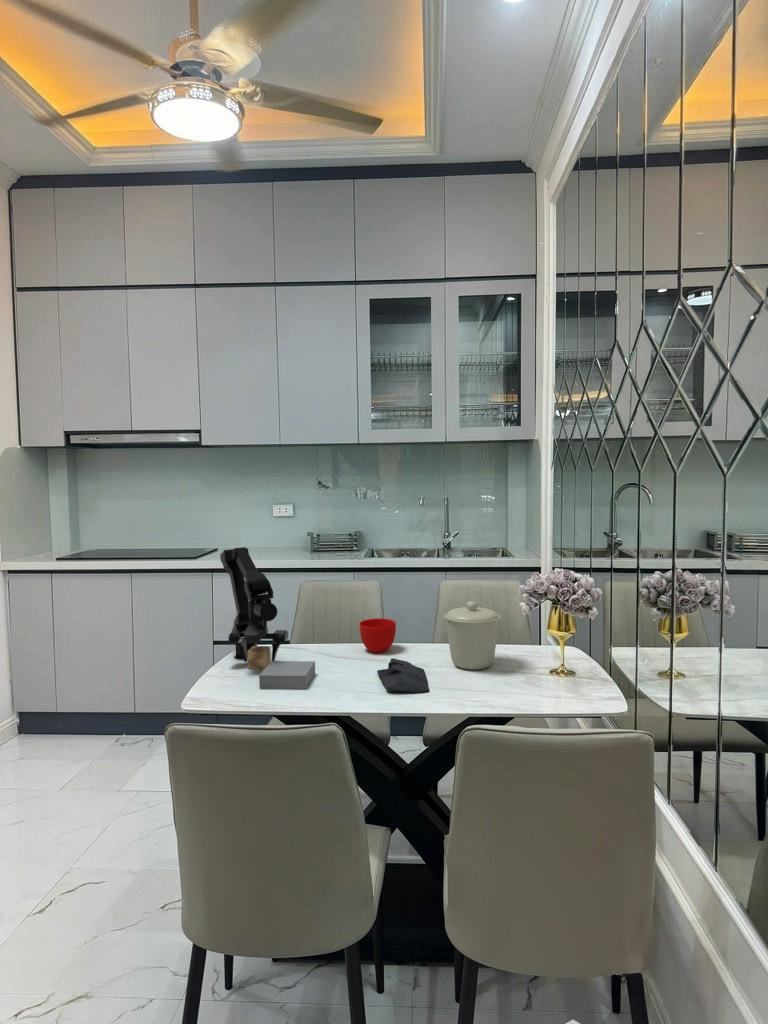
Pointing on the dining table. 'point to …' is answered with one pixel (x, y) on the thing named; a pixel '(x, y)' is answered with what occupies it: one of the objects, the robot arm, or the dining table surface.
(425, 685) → the dark slate chunk
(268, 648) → the oak block
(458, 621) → the canister
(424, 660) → the dining table surface
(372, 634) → the ceramic cup
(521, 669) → the dining table surface
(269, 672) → the slate pedestal
